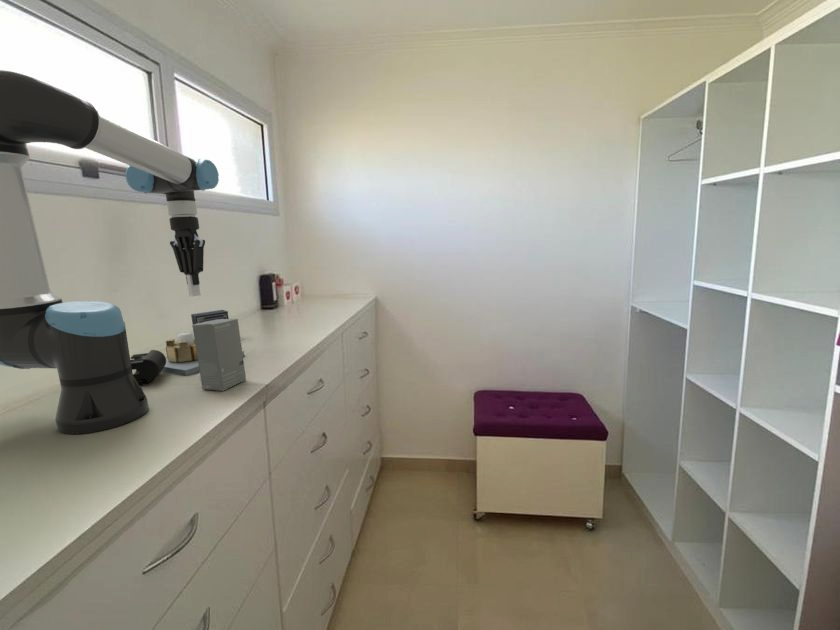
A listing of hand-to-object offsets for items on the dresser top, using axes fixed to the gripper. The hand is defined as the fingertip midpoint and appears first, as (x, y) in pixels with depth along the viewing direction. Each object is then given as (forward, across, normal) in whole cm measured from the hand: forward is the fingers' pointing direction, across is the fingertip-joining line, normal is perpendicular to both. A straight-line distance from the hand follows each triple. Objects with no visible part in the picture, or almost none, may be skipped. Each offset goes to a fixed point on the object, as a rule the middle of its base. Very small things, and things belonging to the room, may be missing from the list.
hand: (195, 295), depth 134 cm
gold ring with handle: (+16, -6, +6) cm, 18 cm away
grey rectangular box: (+18, -32, +19) cm, 42 cm away
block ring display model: (+18, -7, +8) cm, 21 cm away
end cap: (+18, -10, +23) cm, 31 cm away
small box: (+18, +10, -11) cm, 24 cm away
